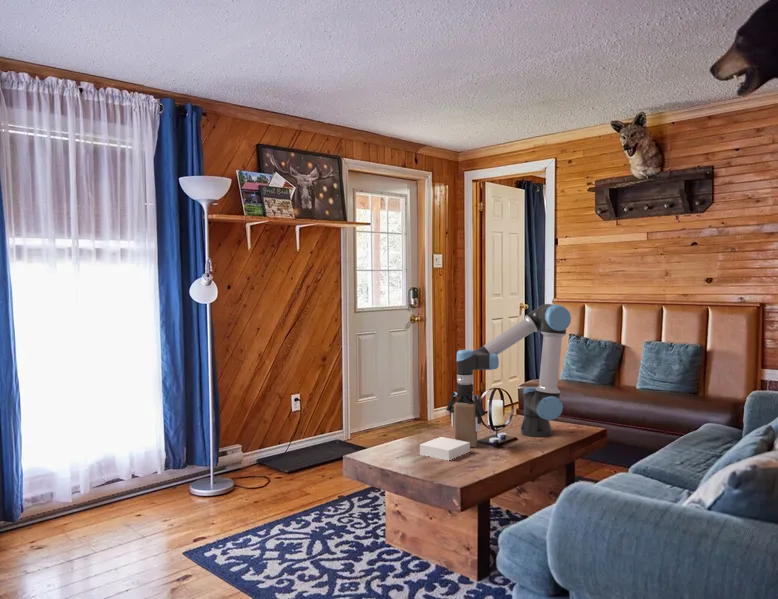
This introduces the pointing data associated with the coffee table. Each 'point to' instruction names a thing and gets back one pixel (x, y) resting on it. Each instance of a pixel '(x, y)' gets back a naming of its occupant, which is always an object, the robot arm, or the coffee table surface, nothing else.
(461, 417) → the block
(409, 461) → the coffee table surface
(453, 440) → the base block
